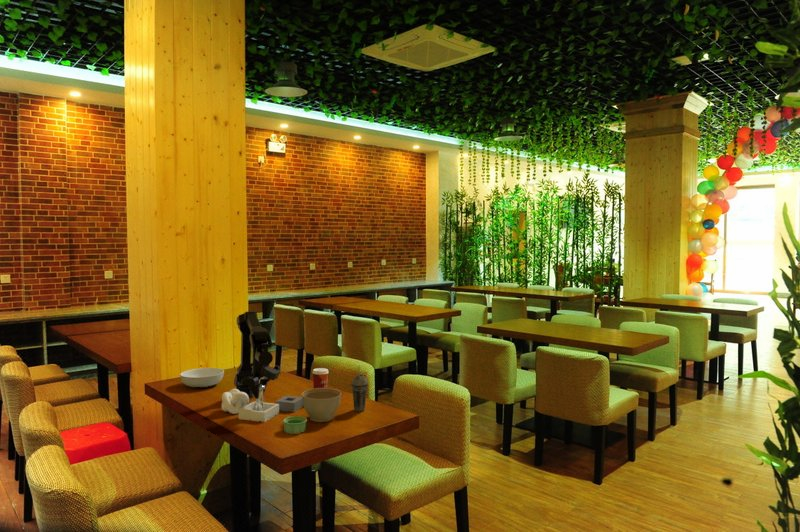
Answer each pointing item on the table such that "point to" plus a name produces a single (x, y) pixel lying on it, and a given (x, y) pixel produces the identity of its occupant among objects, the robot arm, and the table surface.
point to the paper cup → (320, 377)
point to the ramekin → (295, 424)
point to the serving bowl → (202, 377)
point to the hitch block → (290, 403)
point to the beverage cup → (359, 391)
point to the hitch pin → (260, 399)
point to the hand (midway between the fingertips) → (259, 397)
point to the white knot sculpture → (234, 401)
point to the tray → (258, 412)
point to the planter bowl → (321, 403)
